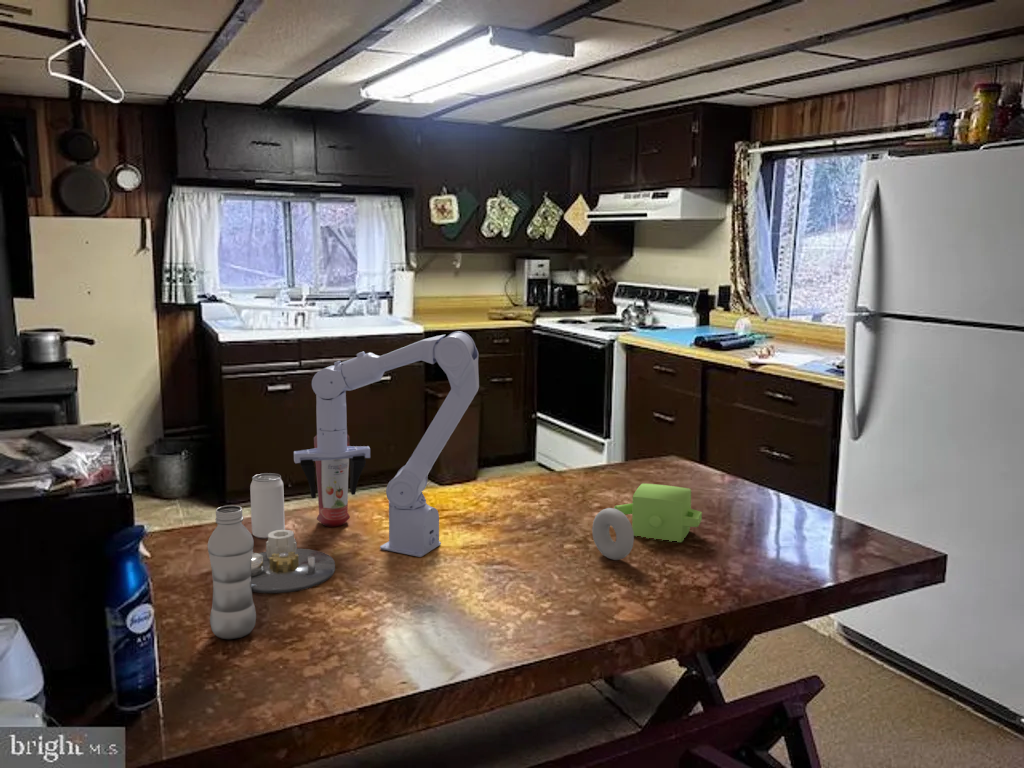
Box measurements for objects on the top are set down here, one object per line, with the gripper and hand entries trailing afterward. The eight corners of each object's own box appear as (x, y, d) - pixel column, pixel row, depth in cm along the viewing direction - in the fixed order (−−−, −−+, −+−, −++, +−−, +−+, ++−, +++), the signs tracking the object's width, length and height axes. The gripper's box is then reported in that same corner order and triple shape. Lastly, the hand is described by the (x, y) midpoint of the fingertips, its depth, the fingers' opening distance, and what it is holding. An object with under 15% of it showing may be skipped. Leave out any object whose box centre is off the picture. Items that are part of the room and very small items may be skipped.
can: (275, 540, 164) (273, 482, 161) (246, 537, 165) (243, 480, 163) (290, 529, 170) (288, 473, 168) (261, 526, 171) (259, 471, 169)
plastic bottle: (217, 625, 128) (211, 502, 124) (261, 624, 128) (256, 502, 125) (205, 645, 121) (198, 516, 118) (252, 644, 122) (246, 516, 118)
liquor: (325, 531, 169) (322, 399, 164) (310, 522, 174) (306, 393, 169) (357, 524, 173) (355, 395, 168) (341, 515, 179) (338, 389, 174)
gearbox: (608, 537, 170) (608, 494, 168) (621, 520, 179) (621, 479, 177) (695, 549, 163) (696, 504, 161) (703, 531, 172) (705, 489, 170)
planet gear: (302, 551, 155) (302, 531, 154) (283, 561, 150) (282, 541, 150) (279, 547, 157) (279, 527, 157) (260, 556, 153) (259, 536, 152)
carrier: (354, 563, 152) (354, 543, 152) (284, 605, 135) (283, 582, 134) (273, 546, 160) (272, 526, 160) (196, 582, 143) (195, 561, 142)
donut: (636, 564, 155) (639, 514, 153) (623, 569, 152) (626, 517, 151) (600, 548, 162) (602, 500, 161) (587, 552, 160) (589, 503, 159)
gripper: (365, 421, 165) (366, 486, 167) (291, 425, 160) (293, 492, 162) (371, 429, 158) (372, 496, 161) (295, 433, 153) (297, 503, 156)
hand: (333, 495), depth 161 cm, fingers open, 7 cm apart
